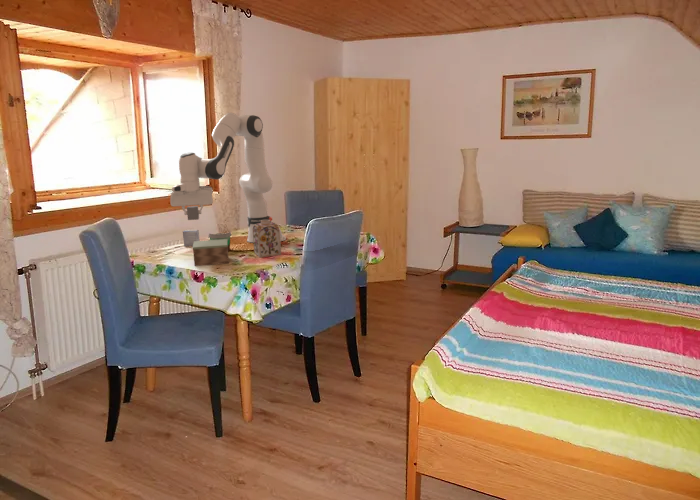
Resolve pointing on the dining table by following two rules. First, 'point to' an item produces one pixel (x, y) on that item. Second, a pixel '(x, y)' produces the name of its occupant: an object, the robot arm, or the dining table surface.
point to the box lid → (210, 244)
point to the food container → (221, 237)
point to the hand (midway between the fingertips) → (193, 214)
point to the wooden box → (210, 256)
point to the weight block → (192, 213)
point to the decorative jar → (266, 239)
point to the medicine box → (190, 237)
